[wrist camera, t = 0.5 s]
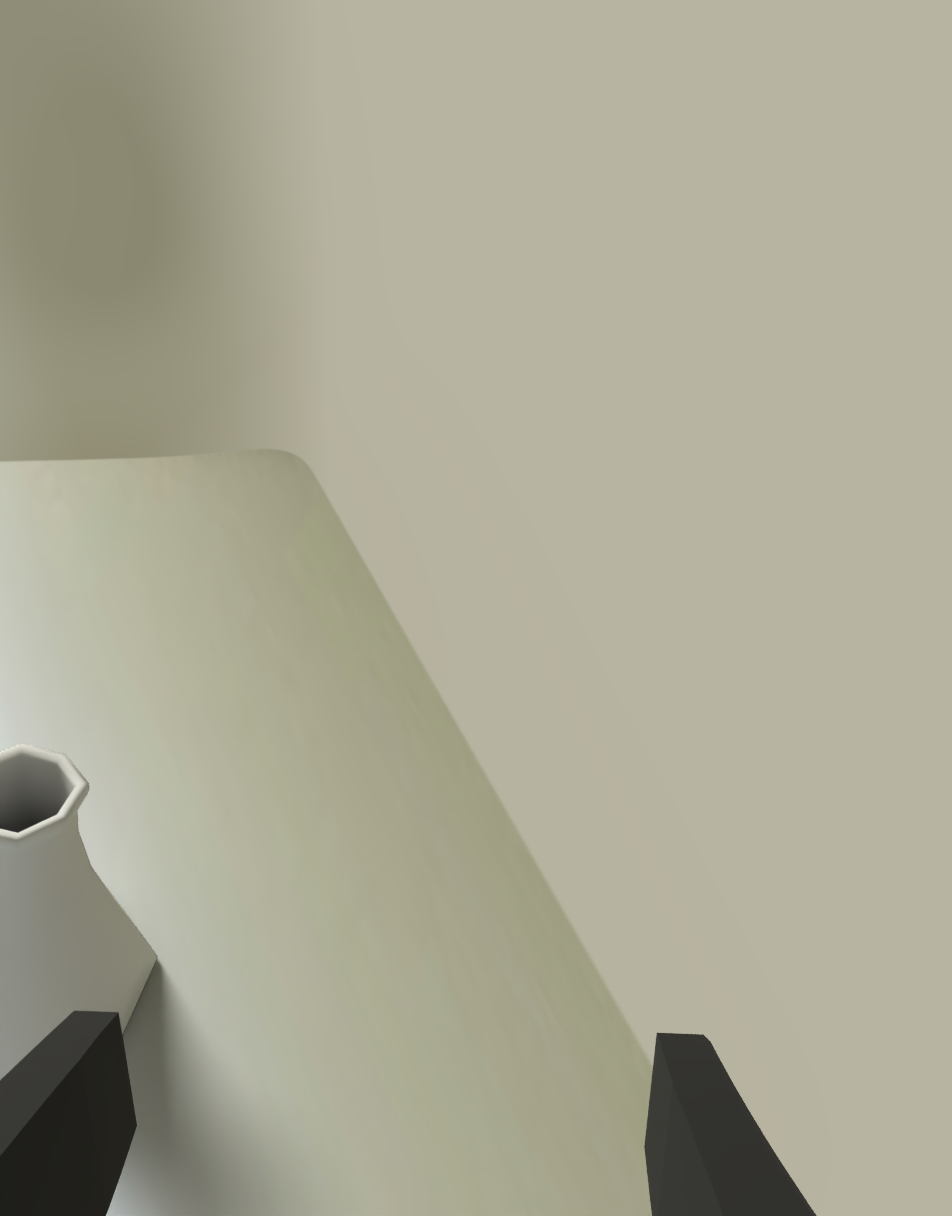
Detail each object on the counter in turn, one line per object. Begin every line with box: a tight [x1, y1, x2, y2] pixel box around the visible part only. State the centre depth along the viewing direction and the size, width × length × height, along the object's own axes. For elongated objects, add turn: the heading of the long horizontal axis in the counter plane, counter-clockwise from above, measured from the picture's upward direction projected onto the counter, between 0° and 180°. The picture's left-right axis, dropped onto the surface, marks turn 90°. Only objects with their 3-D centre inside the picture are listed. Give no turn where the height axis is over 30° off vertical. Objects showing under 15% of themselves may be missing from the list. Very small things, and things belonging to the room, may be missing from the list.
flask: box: [0, 743, 158, 1080], centre depth 26 cm, size 7×7×10 cm
